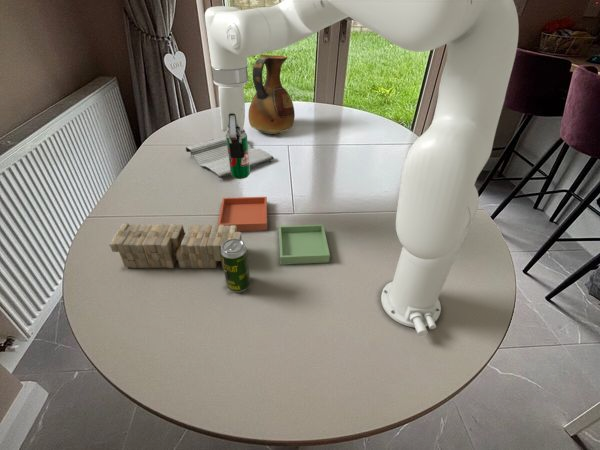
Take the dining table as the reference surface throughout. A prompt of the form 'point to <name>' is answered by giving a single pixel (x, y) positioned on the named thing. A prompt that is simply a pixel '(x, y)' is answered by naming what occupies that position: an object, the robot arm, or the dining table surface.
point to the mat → (222, 156)
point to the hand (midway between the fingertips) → (238, 151)
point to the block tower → (172, 245)
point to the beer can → (235, 265)
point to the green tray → (303, 244)
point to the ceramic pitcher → (270, 98)
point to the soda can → (239, 159)
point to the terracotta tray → (244, 213)
